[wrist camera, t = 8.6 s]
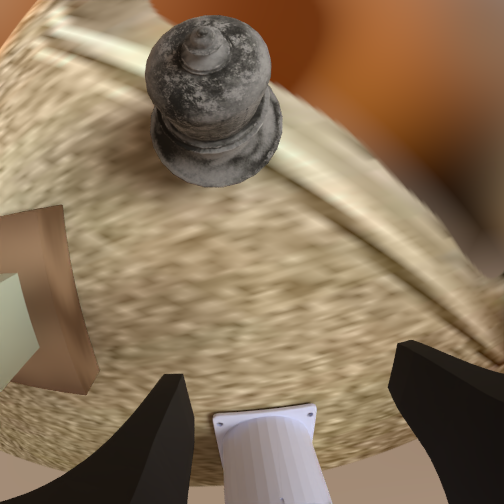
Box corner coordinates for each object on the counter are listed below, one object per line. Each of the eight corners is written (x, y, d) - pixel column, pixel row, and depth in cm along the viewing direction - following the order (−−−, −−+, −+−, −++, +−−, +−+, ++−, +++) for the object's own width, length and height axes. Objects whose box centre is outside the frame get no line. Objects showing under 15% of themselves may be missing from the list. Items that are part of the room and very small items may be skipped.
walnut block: (99, 370, 18) (86, 395, 15) (9, 359, 17) (-7, 376, 14) (62, 204, 15) (36, 210, 12) (-28, 222, 14) (-52, 229, 12)
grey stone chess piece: (291, 128, 16) (420, 46, 4) (225, 207, 16) (226, 279, 5) (211, 67, 14) (197, -90, 3) (144, 144, 15) (1, 94, 3)
